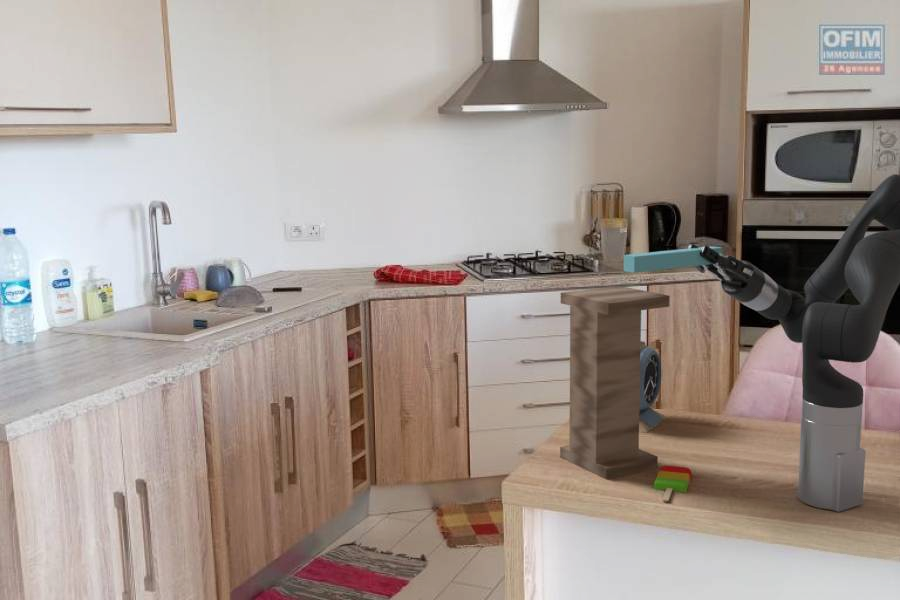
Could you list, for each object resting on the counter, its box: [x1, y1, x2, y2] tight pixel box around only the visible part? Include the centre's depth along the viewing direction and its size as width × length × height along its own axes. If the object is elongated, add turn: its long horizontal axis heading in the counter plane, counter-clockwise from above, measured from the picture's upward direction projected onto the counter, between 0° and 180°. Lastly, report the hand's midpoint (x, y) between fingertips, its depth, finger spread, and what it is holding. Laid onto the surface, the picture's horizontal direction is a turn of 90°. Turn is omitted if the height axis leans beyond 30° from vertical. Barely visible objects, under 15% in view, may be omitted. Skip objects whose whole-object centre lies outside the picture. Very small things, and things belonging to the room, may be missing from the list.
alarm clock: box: [639, 340, 667, 433], centre depth 199 cm, size 14×10×18 cm
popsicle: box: [653, 464, 692, 502], centre depth 163 cm, size 6×15×2 cm, turn 159°
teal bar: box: [623, 246, 723, 274], centre depth 177 cm, size 3×22×3 cm, turn 119°
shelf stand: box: [559, 285, 670, 480], centre depth 174 cm, size 14×14×32 cm
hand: (696, 249), depth 180 cm, fingers closed on teal bar, 3 cm apart
